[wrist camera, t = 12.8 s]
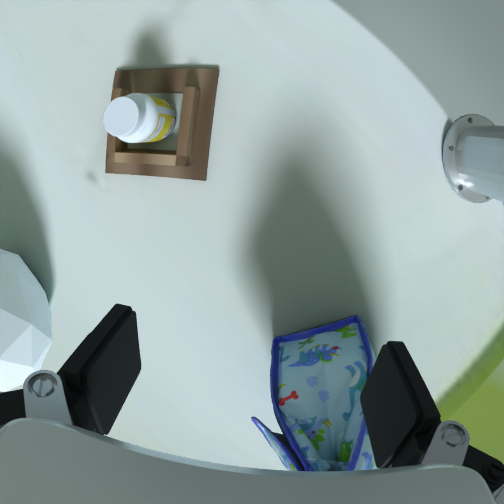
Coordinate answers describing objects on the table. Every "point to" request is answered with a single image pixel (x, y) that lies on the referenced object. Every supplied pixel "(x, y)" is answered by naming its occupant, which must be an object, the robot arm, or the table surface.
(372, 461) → the lunch bag
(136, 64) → the table surface
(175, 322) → the table surface
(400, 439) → the robot arm
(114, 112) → the supplement bottle
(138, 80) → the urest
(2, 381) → the geometric polyhedron
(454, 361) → the table surface
